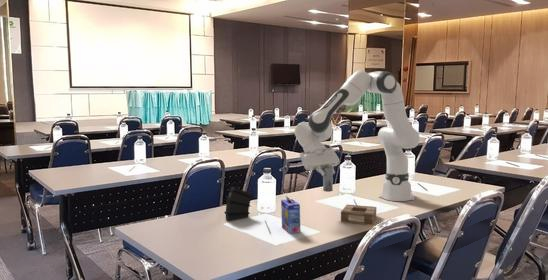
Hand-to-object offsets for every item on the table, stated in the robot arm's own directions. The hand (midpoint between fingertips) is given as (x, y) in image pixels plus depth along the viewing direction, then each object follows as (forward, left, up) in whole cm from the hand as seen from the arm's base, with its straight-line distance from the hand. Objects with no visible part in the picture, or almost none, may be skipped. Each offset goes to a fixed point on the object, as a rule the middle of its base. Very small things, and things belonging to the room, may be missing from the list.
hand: (328, 174), depth 212 cm
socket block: (+1, +14, -20) cm, 25 cm away
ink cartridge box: (+26, -11, -20) cm, 34 cm away
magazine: (+17, -39, -20) cm, 47 cm away
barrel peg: (0, -1, -8) cm, 8 cm away
